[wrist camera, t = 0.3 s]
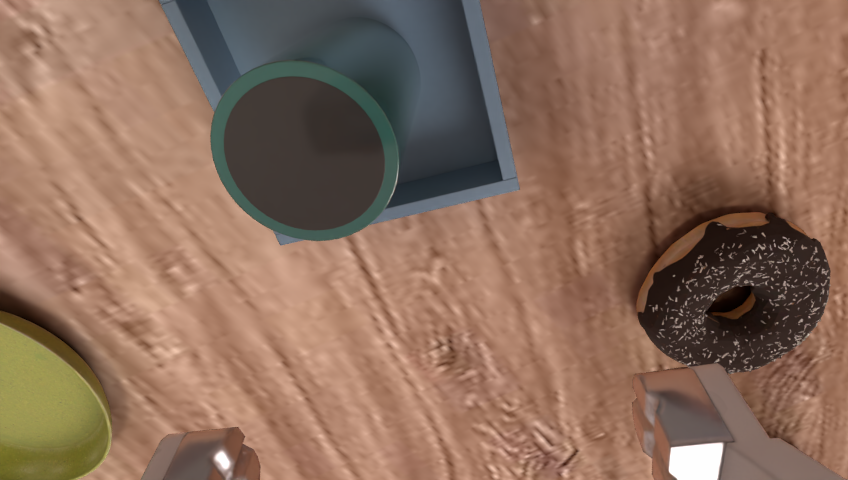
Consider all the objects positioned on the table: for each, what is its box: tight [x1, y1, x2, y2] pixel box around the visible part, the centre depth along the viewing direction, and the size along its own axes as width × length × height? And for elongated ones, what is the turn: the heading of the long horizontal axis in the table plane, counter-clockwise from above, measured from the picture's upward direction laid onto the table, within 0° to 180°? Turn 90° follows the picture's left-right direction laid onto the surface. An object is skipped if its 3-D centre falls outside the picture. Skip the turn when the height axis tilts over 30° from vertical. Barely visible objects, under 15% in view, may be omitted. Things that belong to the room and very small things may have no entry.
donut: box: [636, 212, 830, 374], centre depth 32 cm, size 11×12×4 cm
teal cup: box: [210, 17, 421, 241], centre depth 23 cm, size 7×7×12 cm
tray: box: [159, 0, 520, 245], centre depth 27 cm, size 15×15×4 cm
